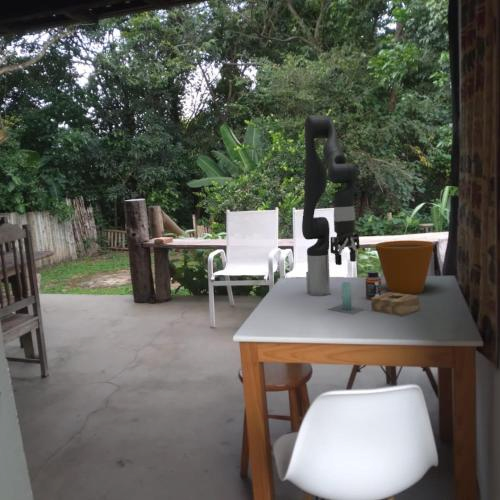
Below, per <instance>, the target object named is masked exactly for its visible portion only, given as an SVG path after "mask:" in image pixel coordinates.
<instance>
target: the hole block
mask: <svg viewBox="0 0 500 500" xmlns="http://www.w3.org/2000/svg"><path fill="white" fill-rule="evenodd" d="M370 301H371V311H373V312H379V313H385V314H391V315H395V316H400V317H404V316H407V315H409V314H411V313H414V312H416V311H419V310H420V296H419V295H416V294H415V295H414V294H410V293H396V292H391V291H389V292H386V293H381V295H379V296H376V297H373V298H371V300H370Z"/></svg>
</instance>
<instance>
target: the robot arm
mask: <svg viewBox="0 0 500 500" xmlns="http://www.w3.org/2000/svg"><path fill="white" fill-rule="evenodd" d="M315 139H317V140H318V139H326V142H325V144H324V145H323V149H322V155H323V157H324V160H325V162H326V164H327V168H326V166H325V164H324V162H323V160H322V159H321V157H320V155H319V154H318V151H317V148H316V142H315ZM304 145H305V146H304V148H305V158H304V159H305V160H304V161H305V165H304V194H303V195H304V198H303V199H304V200H303V210H302V221H301V222H302V223H301V233H302V236H303V238H304V239H305V240H308V241H309V240H317V241H316V242H315V243H313V245H311V246H309V247H307V249H306V261H307V271H306V272H305V274H306V276H305V277H306V293H307V295H311V296H316V297H317V296H318V297H319V296H320V297H321V296H328V295H329V294H331V284H330V283H331V281H330V280H331V279H330V275H331V274H330V258H329V255H330V254H329V253H331V254H333V255H334V263H335V265H336V266H341V265H343V263H342V252H343V251H344V250H345V248H348V250H349V261H350V262H353V263H355V262H356V261H357V251H358V250H359V249H360V248H361V247H360V234H359V233H358V232H356V215H355V214H356V213H355V208H354V206H355V205H354V202H355V201H354V193H355V189H356V188H355V187H356V183H357V179H358V175H359V171H358V167H357V165H356V164H354V163H352V162H350V163H349V162H348V163H347V158H346V155H345V153H344V152H343V150H342V147H341V145H340V143H339V138H338V133H337V130H336V126H335V123H334V120H333V118H332V116H330V115H329V114H316V115H315V114H310V115H307V116H306V117H305V121H304ZM327 180H328V181H329V182H330V183H332V184H334V185H339V184H341V185H342V184H345V187H344V188H342V189H340V190H337V191H334V192H333V230H334V231H333V232H334V233H335V234H336V236H330V223H329V220H328V218H327V217H325V216H318V217H316V216H315V210H316V208H317V205H318V203H319V201H320V200H321V198H322V197H323V195H324V193H325V191H326V189H327V183H328V181H327ZM329 249H330V251H329Z"/></svg>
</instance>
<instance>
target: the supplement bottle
mask: <svg viewBox="0 0 500 500" xmlns="http://www.w3.org/2000/svg"><path fill="white" fill-rule="evenodd" d="M367 275H368V276H366V277H365V299H366V300H369V301H371V298H373V297H376V296H379V295H382V279H381V276H379V271H377V270H371V271H370V270H369V271H368V272H367Z"/></svg>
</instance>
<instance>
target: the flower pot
mask: <svg viewBox="0 0 500 500" xmlns="http://www.w3.org/2000/svg"><path fill="white" fill-rule="evenodd" d="M434 248H435V243H434V242H432V241H427V240H414V239H413V240H409V239H408V240H391V241H388V240H387V241H383V242H378V243H375V250H376V253H377V255H378V259H379V262H380V267H381V270H382V274H383V277H384V280H385V284H386V288H387V290H388V291H389V292H394V293H401V294H419V293H422V292H424V289H425V284H426V281H427V277H428V272H429V268H430V264H431V260H432V256H433V252H434Z"/></svg>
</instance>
